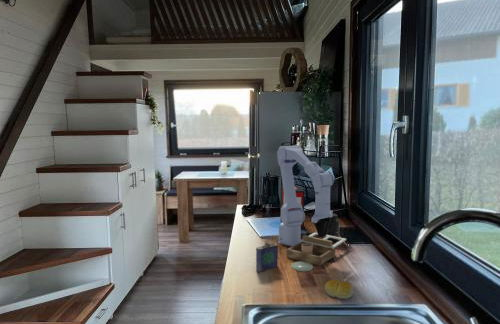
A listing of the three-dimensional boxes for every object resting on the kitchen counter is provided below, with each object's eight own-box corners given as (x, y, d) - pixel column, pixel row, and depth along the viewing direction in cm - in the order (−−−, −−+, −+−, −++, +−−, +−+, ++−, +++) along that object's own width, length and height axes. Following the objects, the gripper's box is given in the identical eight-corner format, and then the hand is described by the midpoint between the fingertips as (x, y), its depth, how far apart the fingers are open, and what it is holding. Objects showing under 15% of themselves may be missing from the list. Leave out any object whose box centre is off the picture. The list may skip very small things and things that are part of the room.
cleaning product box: (303, 229, 183) (304, 191, 181) (286, 230, 182) (286, 191, 180) (296, 220, 199) (296, 185, 197) (280, 221, 198) (280, 185, 196)
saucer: (287, 268, 135) (287, 266, 135) (298, 261, 142) (298, 259, 141) (306, 274, 130) (306, 271, 130) (316, 266, 137) (316, 264, 137)
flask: (258, 273, 131) (258, 244, 130) (254, 270, 134) (254, 242, 133) (279, 267, 136) (279, 240, 135) (274, 265, 139) (274, 238, 137)
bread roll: (329, 285, 122) (329, 273, 122) (355, 291, 117) (356, 280, 117) (320, 295, 115) (320, 283, 115) (347, 302, 110) (348, 290, 110)
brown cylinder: (299, 258, 144) (299, 244, 144) (304, 254, 148) (304, 241, 147) (309, 260, 142) (309, 246, 141) (314, 257, 145) (314, 243, 145)
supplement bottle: (339, 242, 163) (340, 216, 162) (324, 241, 165) (324, 216, 163) (338, 237, 170) (339, 213, 168) (324, 237, 171) (324, 212, 170)
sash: (300, 241, 154) (300, 235, 154) (314, 233, 164) (315, 228, 164) (333, 248, 145) (333, 242, 145) (346, 240, 155) (346, 234, 155)
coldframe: (286, 257, 146) (286, 249, 146) (302, 248, 156) (302, 240, 156) (320, 266, 137) (320, 257, 136) (335, 256, 147) (335, 248, 147)
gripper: (323, 207, 133) (322, 243, 135) (339, 200, 145) (339, 233, 146) (306, 205, 138) (306, 239, 139) (323, 198, 149) (323, 230, 151)
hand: (322, 236), depth 143 cm, fingers closed
